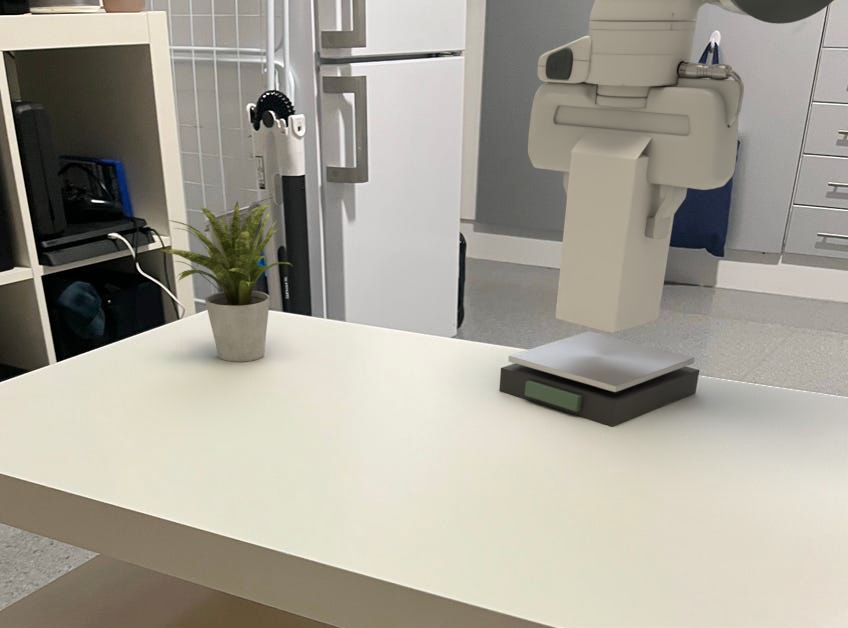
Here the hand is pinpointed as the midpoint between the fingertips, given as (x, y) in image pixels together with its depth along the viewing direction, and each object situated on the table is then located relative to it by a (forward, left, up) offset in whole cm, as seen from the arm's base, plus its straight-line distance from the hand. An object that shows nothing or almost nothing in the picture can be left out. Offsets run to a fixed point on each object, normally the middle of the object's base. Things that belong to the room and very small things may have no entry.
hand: (617, 231), depth 94 cm
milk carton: (0, 0, -8) cm, 8 cm away
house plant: (+18, -36, -16) cm, 43 cm away
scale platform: (0, 0, -12) cm, 12 cm away
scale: (0, 0, -15) cm, 15 cm away
